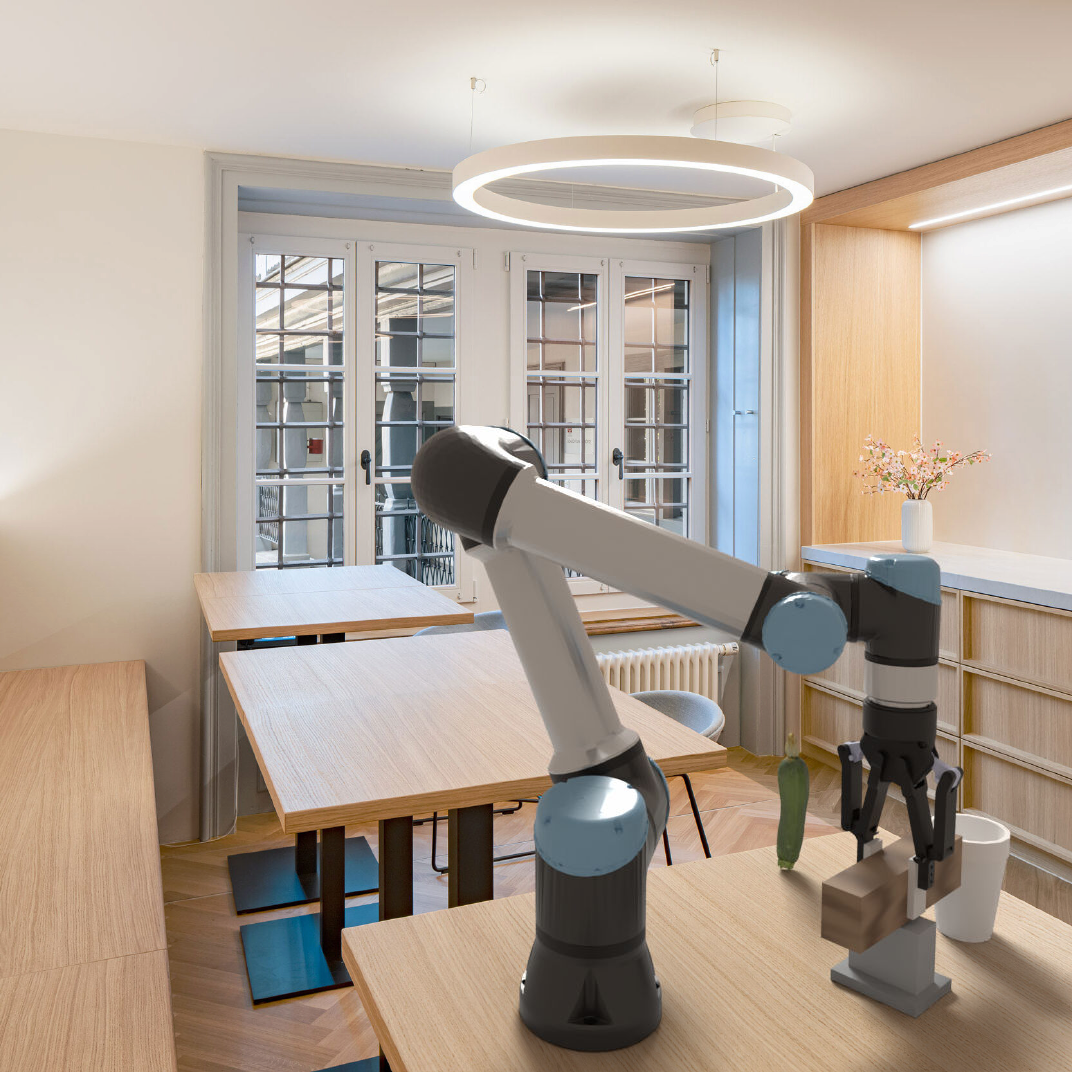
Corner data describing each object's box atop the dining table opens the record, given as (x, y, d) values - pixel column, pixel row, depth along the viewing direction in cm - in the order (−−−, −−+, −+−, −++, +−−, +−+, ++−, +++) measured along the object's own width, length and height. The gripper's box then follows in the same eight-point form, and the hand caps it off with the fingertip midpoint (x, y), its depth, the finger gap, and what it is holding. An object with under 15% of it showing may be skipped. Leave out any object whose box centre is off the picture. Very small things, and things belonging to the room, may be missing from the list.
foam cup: (928, 943, 116) (932, 839, 115) (917, 907, 125) (920, 810, 124) (1014, 953, 114) (1019, 846, 112) (997, 916, 123) (1001, 817, 121)
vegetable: (783, 859, 139) (786, 723, 138) (812, 867, 137) (816, 729, 135) (770, 869, 136) (773, 731, 134) (799, 878, 133) (802, 737, 131)
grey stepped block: (915, 1018, 101) (918, 945, 100) (830, 978, 108) (832, 910, 108) (951, 989, 106) (954, 919, 105) (867, 953, 114) (869, 888, 113)
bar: (860, 954, 98) (861, 897, 97) (820, 937, 101) (821, 882, 100) (960, 885, 112) (962, 836, 112) (923, 873, 116) (925, 824, 115)
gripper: (998, 708, 100) (989, 923, 102) (844, 678, 113) (840, 870, 115) (965, 722, 95) (956, 948, 97) (809, 689, 108) (804, 889, 110)
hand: (893, 905), depth 106 cm, fingers closed on bar, 4 cm apart
